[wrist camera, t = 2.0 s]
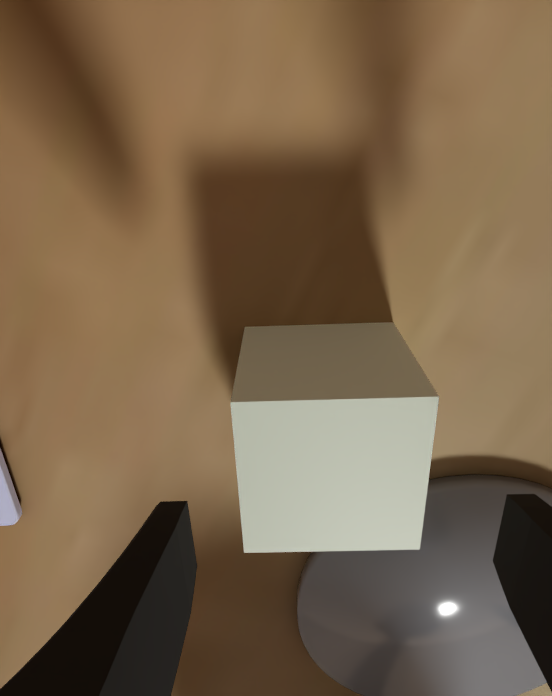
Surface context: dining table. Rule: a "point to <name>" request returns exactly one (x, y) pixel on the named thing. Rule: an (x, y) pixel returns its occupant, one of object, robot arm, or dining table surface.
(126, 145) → the dining table surface
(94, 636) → the robot arm
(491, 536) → the plate
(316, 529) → the cube
